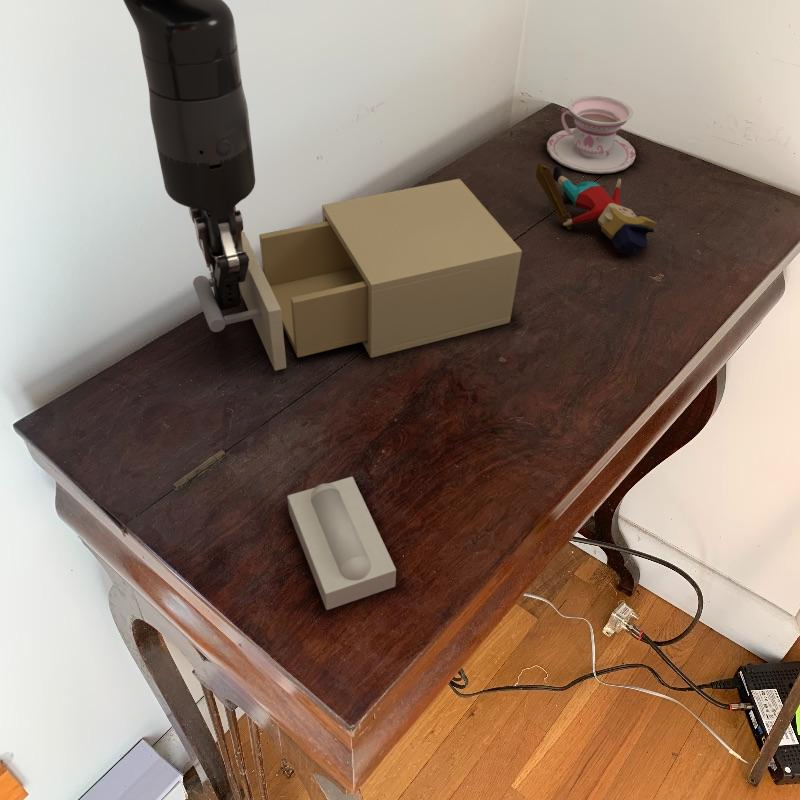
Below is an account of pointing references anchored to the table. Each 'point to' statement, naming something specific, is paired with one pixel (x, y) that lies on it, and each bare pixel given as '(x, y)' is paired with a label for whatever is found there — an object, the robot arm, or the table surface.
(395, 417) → the table surface
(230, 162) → the robot arm
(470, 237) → the cabinet
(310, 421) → the table surface
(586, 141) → the teacup
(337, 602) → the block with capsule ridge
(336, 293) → the drawer
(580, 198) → the toy
